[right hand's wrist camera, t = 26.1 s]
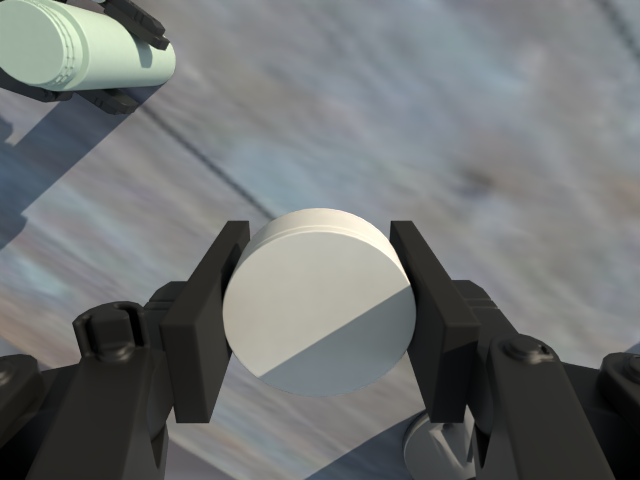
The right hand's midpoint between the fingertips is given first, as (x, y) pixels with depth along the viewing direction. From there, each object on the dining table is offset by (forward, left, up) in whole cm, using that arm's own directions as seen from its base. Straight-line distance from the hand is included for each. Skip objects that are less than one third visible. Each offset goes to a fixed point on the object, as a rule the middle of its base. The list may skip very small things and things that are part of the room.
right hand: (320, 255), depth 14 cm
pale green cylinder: (+3, +16, -23) cm, 29 cm away
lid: (0, 0, +4) cm, 4 cm away
